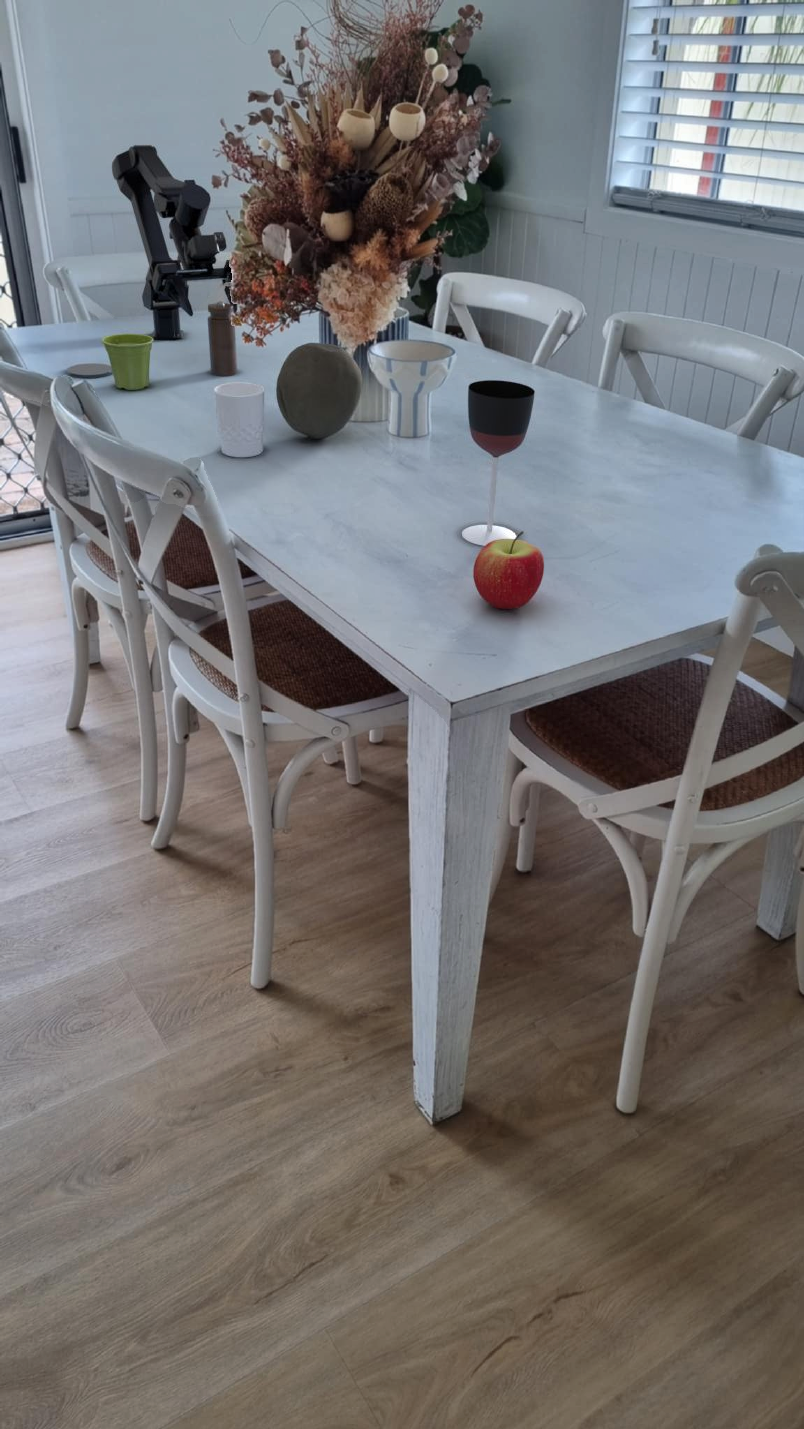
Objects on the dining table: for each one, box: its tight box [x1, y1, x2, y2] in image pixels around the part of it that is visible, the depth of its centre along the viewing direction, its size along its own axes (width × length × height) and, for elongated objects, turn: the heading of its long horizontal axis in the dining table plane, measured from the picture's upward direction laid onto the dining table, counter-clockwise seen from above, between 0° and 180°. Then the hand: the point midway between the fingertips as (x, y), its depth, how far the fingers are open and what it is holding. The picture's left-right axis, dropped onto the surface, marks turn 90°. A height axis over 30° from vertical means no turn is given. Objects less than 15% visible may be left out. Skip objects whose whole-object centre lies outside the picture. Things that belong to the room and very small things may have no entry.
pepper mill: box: [207, 301, 238, 377], centre depth 208 cm, size 5×5×14 cm
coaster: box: [66, 362, 113, 379], centre depth 209 cm, size 9×9×1 cm
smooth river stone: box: [275, 342, 363, 440], centre depth 176 cm, size 14×14×15 cm
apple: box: [472, 530, 545, 610], centre depth 126 cm, size 8×8×10 cm
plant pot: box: [101, 333, 155, 391], centre depth 199 cm, size 9×9×9 cm
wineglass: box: [461, 379, 536, 547], centre depth 141 cm, size 8×9×20 cm
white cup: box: [213, 381, 265, 458], centre depth 170 cm, size 8×8×10 cm
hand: (214, 313), depth 209 cm, fingers open, 9 cm apart
